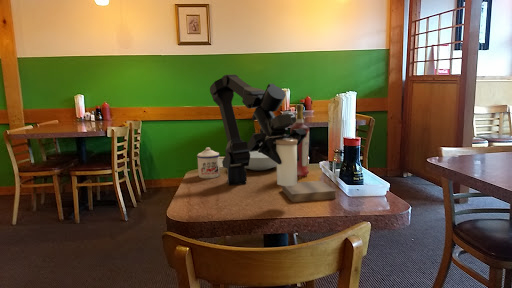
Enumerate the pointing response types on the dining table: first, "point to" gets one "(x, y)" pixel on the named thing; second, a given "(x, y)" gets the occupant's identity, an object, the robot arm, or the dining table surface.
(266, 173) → the dining table surface
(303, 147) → the liquor
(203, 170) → the teacup with lid
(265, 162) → the serving bowl
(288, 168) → the cream jar
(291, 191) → the beige rectangular box
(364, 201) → the dining table surface
